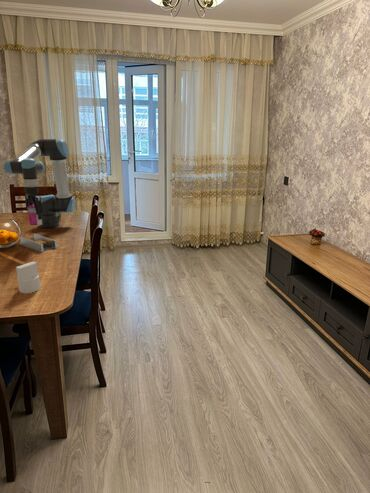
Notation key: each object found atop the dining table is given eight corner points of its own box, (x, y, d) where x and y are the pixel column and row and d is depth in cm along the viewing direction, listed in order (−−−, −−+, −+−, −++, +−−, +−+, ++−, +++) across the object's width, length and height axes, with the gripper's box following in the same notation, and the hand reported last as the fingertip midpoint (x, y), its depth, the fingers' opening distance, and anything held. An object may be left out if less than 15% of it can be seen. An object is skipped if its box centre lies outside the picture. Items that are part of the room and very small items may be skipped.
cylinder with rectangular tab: (27, 295, 153) (23, 270, 149) (15, 290, 157) (11, 265, 154) (44, 287, 160) (41, 263, 156) (32, 283, 165) (29, 260, 161)
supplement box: (32, 222, 212) (30, 204, 208) (42, 222, 212) (40, 204, 209) (29, 225, 206) (26, 206, 203) (39, 225, 207) (37, 206, 203)
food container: (65, 218, 287) (64, 207, 284) (60, 220, 281) (59, 208, 278) (53, 217, 291) (52, 205, 288) (48, 219, 285) (47, 207, 282)
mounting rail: (19, 246, 217) (18, 237, 215) (37, 242, 226) (36, 233, 224) (40, 254, 203) (39, 245, 201) (58, 249, 212) (57, 240, 210)
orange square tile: (30, 243, 213) (29, 242, 212) (40, 241, 218) (40, 239, 218) (36, 245, 209) (36, 244, 208) (46, 243, 214) (46, 241, 214)
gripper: (16, 185, 205) (21, 222, 212) (34, 188, 193) (39, 227, 201) (28, 183, 211) (32, 219, 218) (46, 187, 199) (51, 225, 206)
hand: (35, 223), depth 209 cm, fingers closed on supplement box, 8 cm apart
